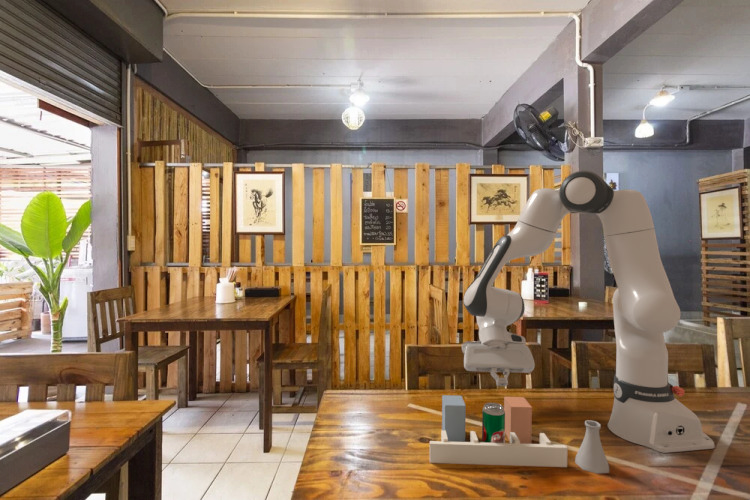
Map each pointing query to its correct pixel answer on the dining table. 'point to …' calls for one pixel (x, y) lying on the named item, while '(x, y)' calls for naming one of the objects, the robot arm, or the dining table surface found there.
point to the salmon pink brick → (518, 418)
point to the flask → (592, 450)
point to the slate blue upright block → (453, 417)
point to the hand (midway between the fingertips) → (502, 384)
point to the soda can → (493, 423)
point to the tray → (498, 452)
